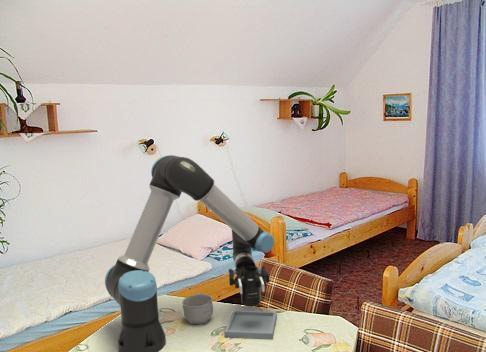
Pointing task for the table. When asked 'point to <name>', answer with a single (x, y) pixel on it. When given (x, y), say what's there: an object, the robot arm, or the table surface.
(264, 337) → the tray
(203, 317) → the teacup
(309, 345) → the table surface
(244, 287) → the supplement bottle
